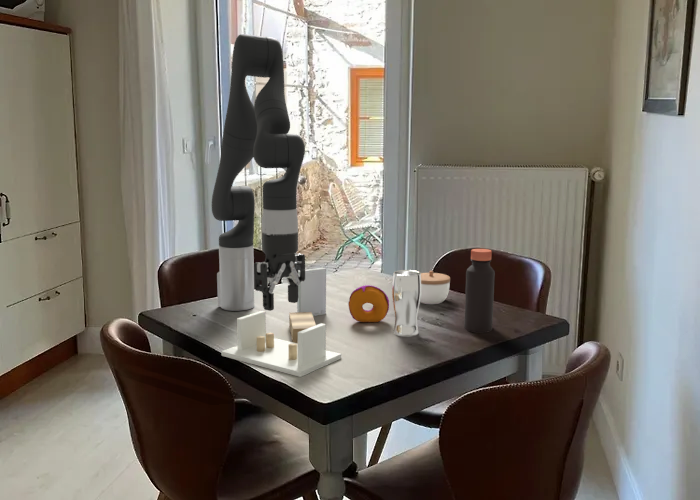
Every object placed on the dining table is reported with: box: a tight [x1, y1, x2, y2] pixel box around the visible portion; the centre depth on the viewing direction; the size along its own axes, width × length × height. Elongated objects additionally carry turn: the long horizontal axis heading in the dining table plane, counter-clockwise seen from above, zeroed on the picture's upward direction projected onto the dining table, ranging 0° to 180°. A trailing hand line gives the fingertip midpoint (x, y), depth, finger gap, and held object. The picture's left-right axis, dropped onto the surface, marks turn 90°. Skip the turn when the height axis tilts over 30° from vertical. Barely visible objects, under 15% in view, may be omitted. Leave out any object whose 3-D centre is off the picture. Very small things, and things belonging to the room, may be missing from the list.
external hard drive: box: [296, 267, 327, 317], centre depth 184 cm, size 2×8×12 cm, turn 123°
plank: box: [288, 312, 317, 343], centre depth 168 cm, size 14×6×4 cm, turn 8°
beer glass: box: [391, 269, 422, 338], centre depth 169 cm, size 7×7×15 cm
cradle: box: [221, 310, 342, 378], centre depth 152 cm, size 22×14×8 cm, turn 55°
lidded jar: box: [420, 270, 451, 305], centre depth 198 cm, size 11×11×9 cm
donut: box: [347, 284, 390, 323], centre depth 178 cm, size 8×9×10 cm
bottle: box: [463, 248, 496, 334], centre depth 171 cm, size 7×7×20 cm
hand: (281, 305), depth 150 cm, fingers open, 7 cm apart
